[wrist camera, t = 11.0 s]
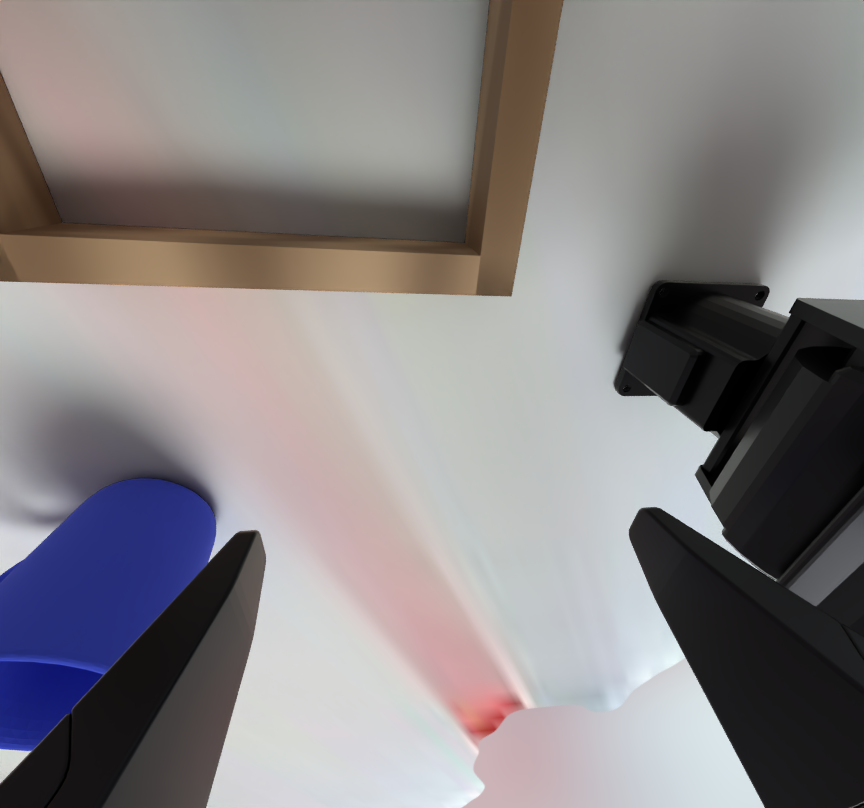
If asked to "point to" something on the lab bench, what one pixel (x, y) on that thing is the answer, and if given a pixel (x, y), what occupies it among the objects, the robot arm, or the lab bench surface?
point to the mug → (92, 597)
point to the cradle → (311, 254)
